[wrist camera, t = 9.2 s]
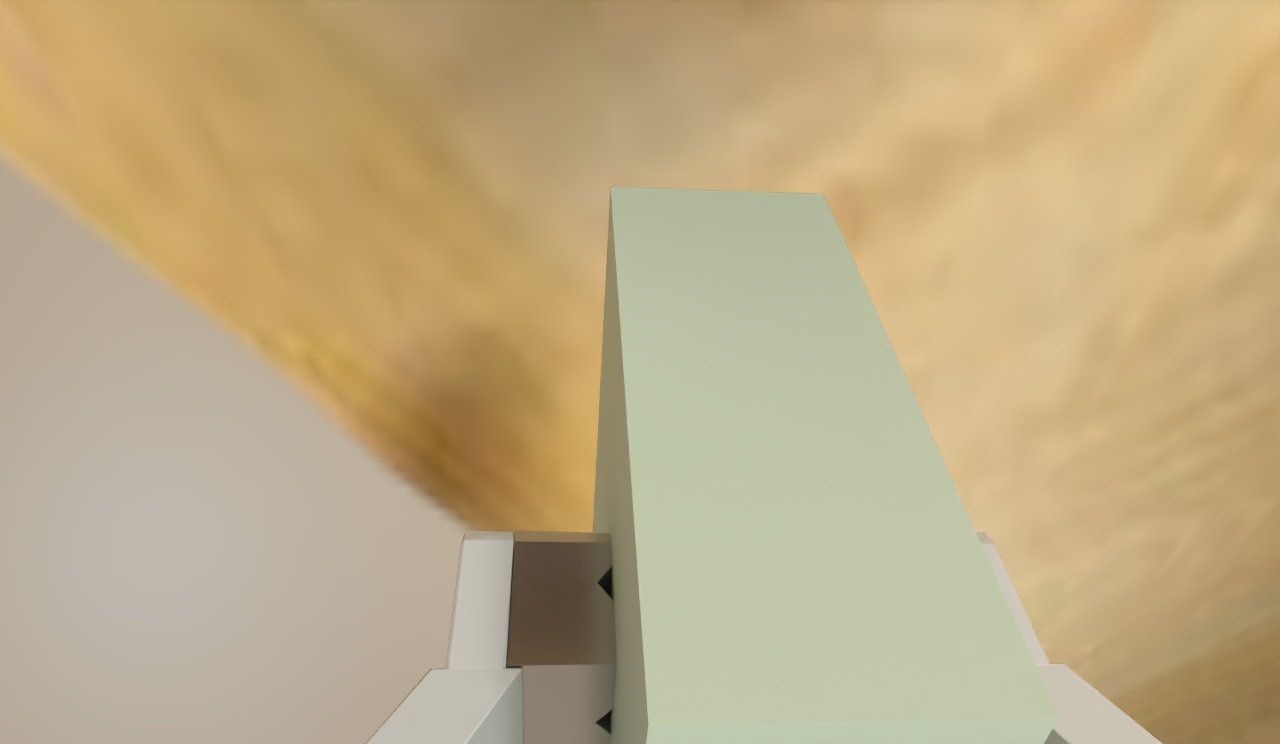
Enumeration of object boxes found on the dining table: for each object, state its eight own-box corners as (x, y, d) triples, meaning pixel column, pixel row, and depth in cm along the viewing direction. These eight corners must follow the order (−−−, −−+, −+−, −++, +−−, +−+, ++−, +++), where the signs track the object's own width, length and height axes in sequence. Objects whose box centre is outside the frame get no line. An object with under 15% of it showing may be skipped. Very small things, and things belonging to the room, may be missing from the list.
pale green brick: (823, 194, 11) (1059, 717, 5) (749, 550, 14) (849, 1062, 9) (610, 186, 10) (648, 725, 5) (591, 550, 14) (603, 1074, 9)
